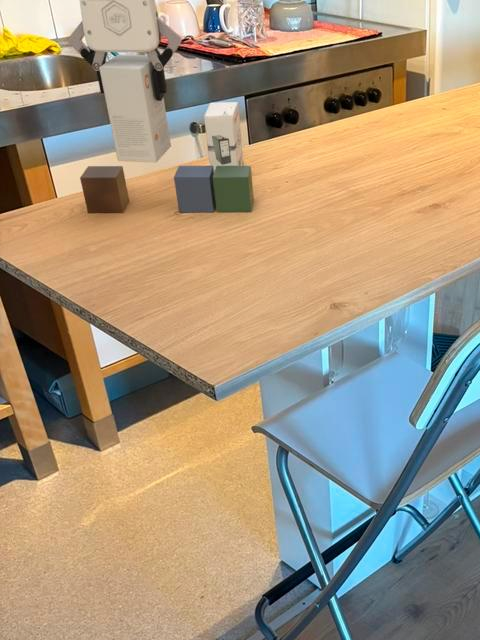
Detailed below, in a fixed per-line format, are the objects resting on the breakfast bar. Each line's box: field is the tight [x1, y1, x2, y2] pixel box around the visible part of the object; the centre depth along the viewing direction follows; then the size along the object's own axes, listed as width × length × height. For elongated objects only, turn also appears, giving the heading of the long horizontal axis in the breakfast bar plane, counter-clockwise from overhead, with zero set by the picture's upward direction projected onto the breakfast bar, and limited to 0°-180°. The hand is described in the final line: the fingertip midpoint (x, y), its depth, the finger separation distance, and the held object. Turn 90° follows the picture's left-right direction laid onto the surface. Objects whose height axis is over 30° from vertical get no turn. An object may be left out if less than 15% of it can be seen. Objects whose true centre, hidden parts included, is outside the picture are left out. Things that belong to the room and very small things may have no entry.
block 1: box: [79, 165, 130, 214], centre depth 129 cm, size 6×6×6 cm
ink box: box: [203, 101, 245, 172], centre depth 137 cm, size 9×5×12 cm, turn 3°
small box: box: [99, 54, 172, 164], centre depth 122 cm, size 8×6×13 cm
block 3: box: [213, 165, 255, 213], centre depth 130 cm, size 6×6×6 cm
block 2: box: [173, 165, 216, 213], centre depth 130 cm, size 6×6×6 cm
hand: (135, 97), depth 121 cm, fingers closed on small box, 6 cm apart
